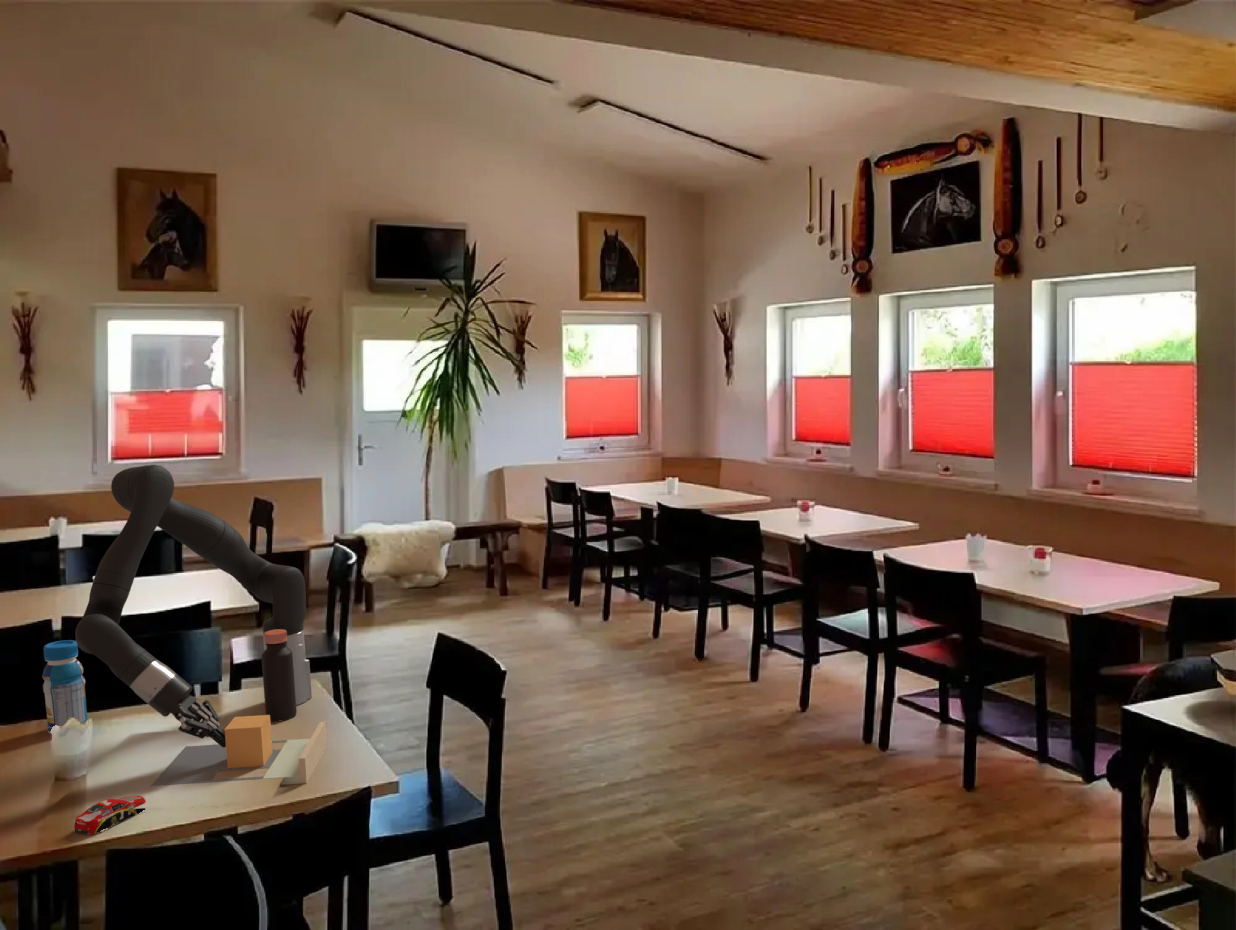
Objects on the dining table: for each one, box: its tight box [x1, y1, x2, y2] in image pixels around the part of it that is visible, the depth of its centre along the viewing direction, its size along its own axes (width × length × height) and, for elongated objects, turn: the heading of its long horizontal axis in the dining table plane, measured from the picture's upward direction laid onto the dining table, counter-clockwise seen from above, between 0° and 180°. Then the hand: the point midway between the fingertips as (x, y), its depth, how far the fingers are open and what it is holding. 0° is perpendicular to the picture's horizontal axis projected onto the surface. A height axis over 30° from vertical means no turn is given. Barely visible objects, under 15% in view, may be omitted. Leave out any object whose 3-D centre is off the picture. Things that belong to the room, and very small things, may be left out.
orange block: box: [224, 714, 274, 768], centre depth 206 cm, size 7×7×8 cm
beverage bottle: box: [41, 639, 89, 734], centre depth 231 cm, size 8×8×20 cm
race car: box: [73, 795, 146, 835], centre depth 184 cm, size 13×5×4 cm, turn 154°
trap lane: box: [150, 721, 328, 787], centre depth 206 cm, size 29×20×5 cm
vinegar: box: [261, 629, 298, 722], centre depth 235 cm, size 7×7×20 cm
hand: (228, 743), depth 206 cm, fingers closed
